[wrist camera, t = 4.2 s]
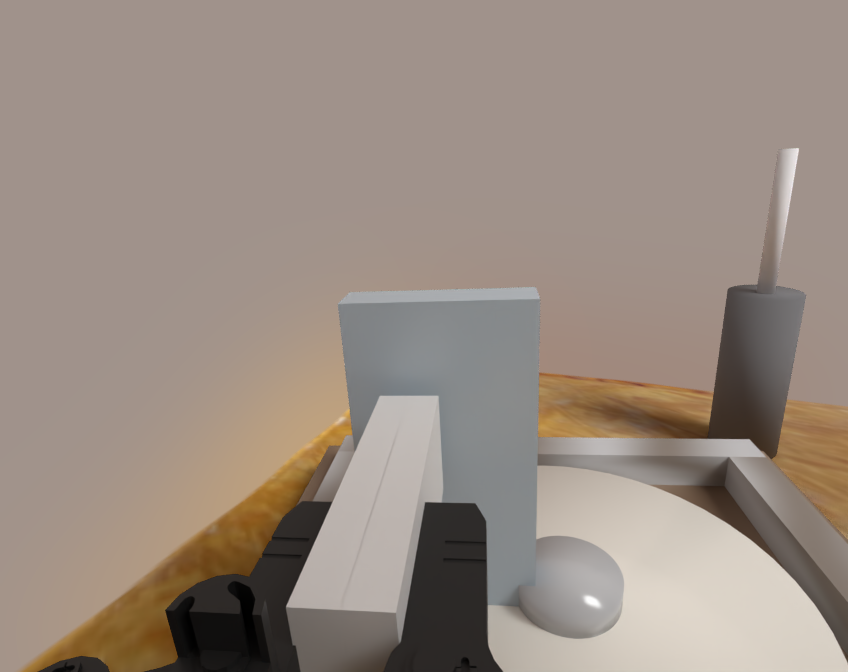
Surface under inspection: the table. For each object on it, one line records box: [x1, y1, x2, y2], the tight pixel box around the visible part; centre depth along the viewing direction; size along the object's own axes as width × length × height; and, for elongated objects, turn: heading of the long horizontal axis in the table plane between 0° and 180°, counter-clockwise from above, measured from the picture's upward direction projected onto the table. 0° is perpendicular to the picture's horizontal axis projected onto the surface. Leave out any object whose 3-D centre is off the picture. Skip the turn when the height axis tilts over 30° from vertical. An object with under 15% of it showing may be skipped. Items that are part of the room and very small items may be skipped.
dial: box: [338, 287, 848, 672], centre depth 14 cm, size 14×14×11 cm
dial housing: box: [296, 436, 848, 663], centre depth 16 cm, size 22×22×4 cm
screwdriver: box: [708, 148, 806, 459], centre depth 27 cm, size 3×3×16 cm
